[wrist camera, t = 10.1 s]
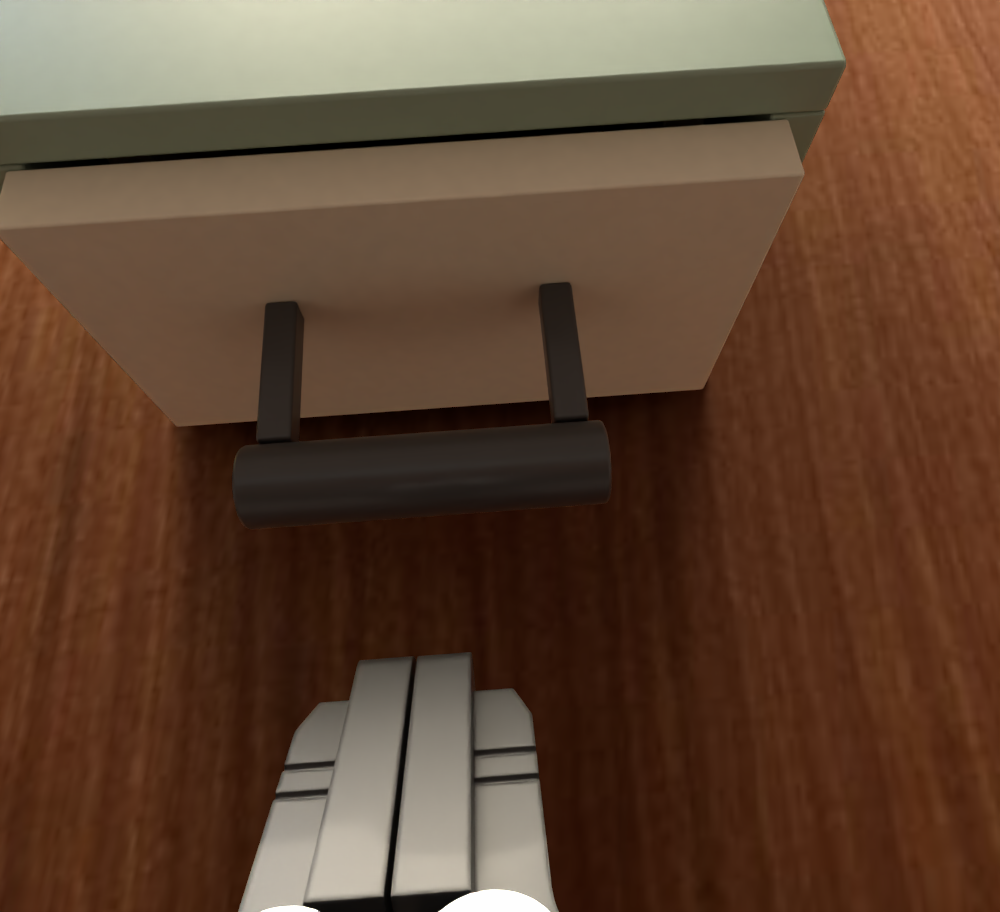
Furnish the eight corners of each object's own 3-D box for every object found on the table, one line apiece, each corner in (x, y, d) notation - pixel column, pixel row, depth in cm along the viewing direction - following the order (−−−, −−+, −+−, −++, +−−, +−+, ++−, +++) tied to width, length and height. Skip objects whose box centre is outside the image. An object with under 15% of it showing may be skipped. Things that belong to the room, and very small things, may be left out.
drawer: (738, 559, 16) (882, 414, 10) (155, 603, 16) (-77, 483, 10) (611, -51, 25) (645, -339, 18) (229, -27, 24) (130, -309, 18)
